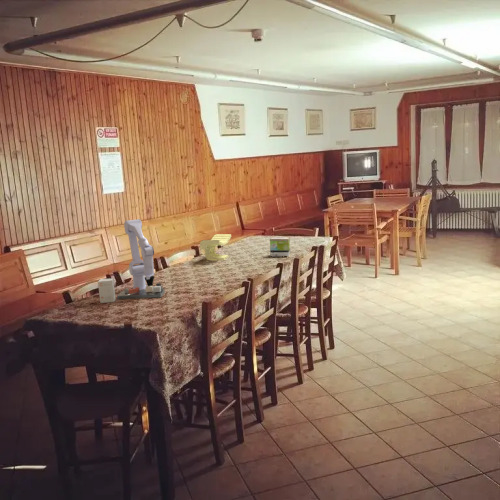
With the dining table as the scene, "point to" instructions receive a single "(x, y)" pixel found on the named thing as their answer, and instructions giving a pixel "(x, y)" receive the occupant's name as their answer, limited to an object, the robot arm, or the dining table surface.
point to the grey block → (157, 288)
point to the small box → (106, 290)
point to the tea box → (279, 246)
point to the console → (141, 294)
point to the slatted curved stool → (211, 244)
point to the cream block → (149, 288)
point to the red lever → (131, 290)
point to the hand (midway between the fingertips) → (150, 288)
